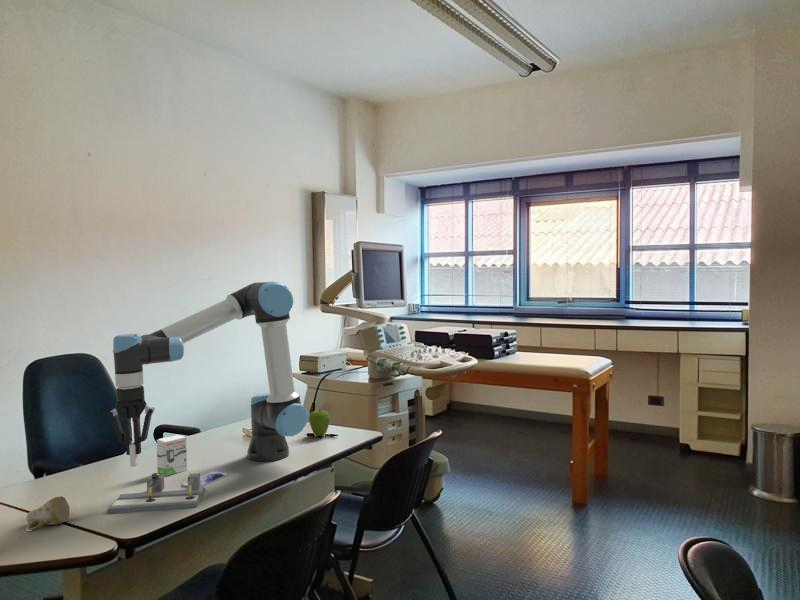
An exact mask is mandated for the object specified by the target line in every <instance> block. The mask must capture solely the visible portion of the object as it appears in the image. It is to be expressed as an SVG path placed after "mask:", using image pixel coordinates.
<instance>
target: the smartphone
mask: <svg viewBox="0 0 800 600" xmlns="http://www.w3.org/2000/svg"><path fill="white" fill-rule="evenodd" d="M229 475H230V473H228V472H222V471H219V470H218V471H217V470H212V471H210V472H207V473H204V474H203V475H200V485H201V486H200V487H206V486H207V485H210V484H212V483H214V482H217V481H219V480H221V479H224V478H226V477H228V476H229ZM180 487H181V488H188V481H186V482H183V483H181V485H180Z"/></svg>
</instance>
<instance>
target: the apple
mask: <svg viewBox="0 0 800 600" xmlns="http://www.w3.org/2000/svg"><path fill="white" fill-rule="evenodd" d="M309 414H310V415H309V416H308V421H309V426H310V428H311V431H312V433H313V434H314V435H315V436H316V437H318V436H322V437H324V436H325V435H326V433H327V431H328V429H329V425H330V420H331V419H330V418H331V416H330V414H329V412H328V411H327V410H324V409H316V410H313V411H312V412H311V413H309ZM323 435H324V436H323Z"/></svg>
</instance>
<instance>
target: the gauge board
mask: <svg viewBox="0 0 800 600" xmlns="http://www.w3.org/2000/svg"><path fill="white" fill-rule="evenodd" d="M200 476H201V473H189V475H188V476H187V482H188V488H186V487H181V488H169V489H168V488H166V489H165V488H164V489H163V491H162V492H154V493H152V499H149V493H147V490H135V491H121V492H120V493H119V497H117V499H116V500H115V501H114V502H113V503H112V504H110V506H109V507H108V508H107V513H108V514H115V513H117V514H118V513H128V512H130V513H131V512H144V511H146V512H147V511H159V510H160V511H161V510H174V509H176V510H177V509H188V508H189V509H190V508H197V507H198V505H199V504H200V502H201V500H202V499H203V497H204V495H205V494H206V492H207V490H206V486H203V487H200V486H201V485H200Z"/></svg>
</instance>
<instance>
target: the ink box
mask: <svg viewBox="0 0 800 600" xmlns="http://www.w3.org/2000/svg"><path fill="white" fill-rule="evenodd" d="M187 444H188V443H187V436H184V435H181V434H175V435H171V436H167V437H161V438H158V439H157V440H156V461H157V462H156V463H157V466H156V467H157V472H156V473H159V475H164V477H168V476H171V475H175V474H178V473H182V472H184V471H188V448H187V447H188V446H187Z"/></svg>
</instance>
